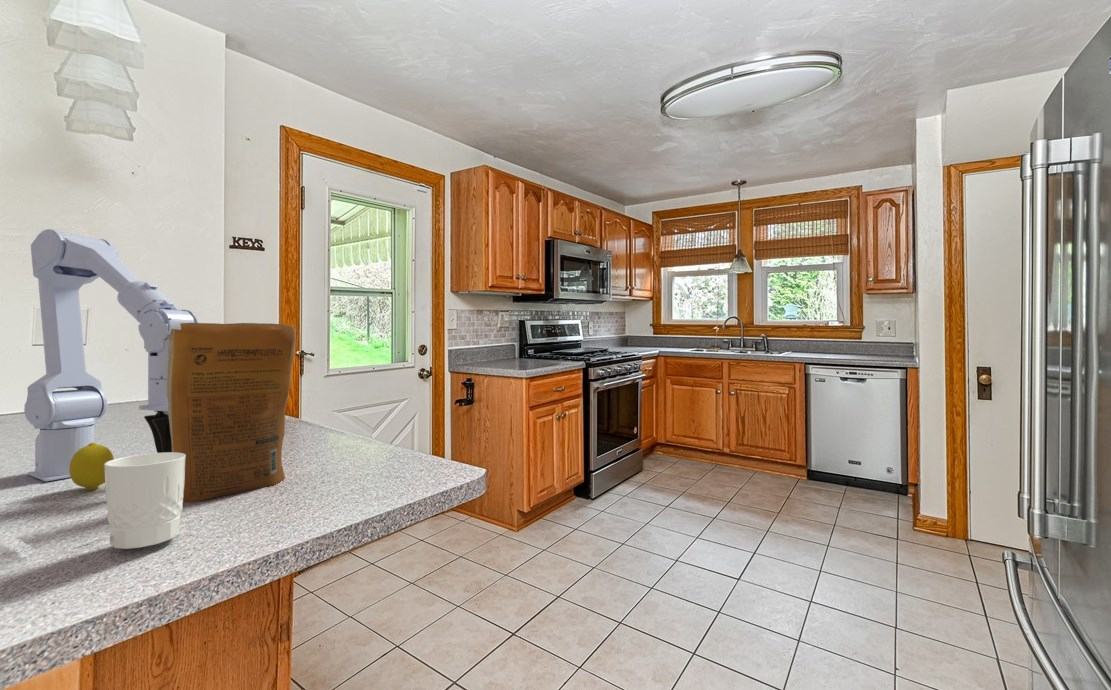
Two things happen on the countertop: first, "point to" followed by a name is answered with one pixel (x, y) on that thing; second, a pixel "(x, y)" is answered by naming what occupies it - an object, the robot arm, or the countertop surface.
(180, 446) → the pancake mix bag
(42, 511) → the countertop surface
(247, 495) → the countertop surface
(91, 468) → the lemon
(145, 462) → the white cup
